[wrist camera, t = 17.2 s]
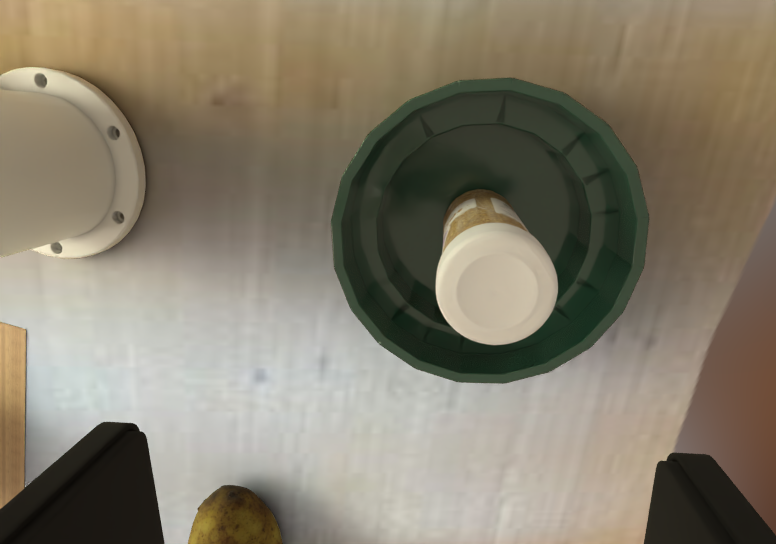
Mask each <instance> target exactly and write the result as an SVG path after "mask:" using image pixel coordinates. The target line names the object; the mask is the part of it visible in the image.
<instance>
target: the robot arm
mask: <svg viewBox="0 0 776 544" xmlns="http://www.w3.org/2000/svg"><path fill="white" fill-rule="evenodd" d="M119 132H120V133H119ZM145 188H146V180H145V166H144V161H143V157H142V152H141V149H140V146H139V144H138V141H137V138H136V136H135V133H134V131H133V130H132V128H131V126H130V124H129V123H128V121H127V119H126V118H125V116H124V115H123V113H122V112H121V111H120V110H119V108H118V107H117V106H116V105H115V104H114V102H113V101H112V100H111V99H110V98H109V97H107V96H106V95H105V94H104V93H103V92H102V91H101V90H99V89H98V88H97V87H96V86H94V85H92V84H91V83H89V82H87V81H86V80H84V79H82V78H81V77H78V76H75V75H73V74H70V73H67V72H65V71H60V70H54V69H49V68H38V67H26V68H20V69H15V70H11V71H9V72H6V73H4V74H2V75H0V258H2V257H5V256H9V255H12V254H16V253H19V252H23V251H27V250H30V249H31V250H33V251H36V252H38V253H41V254H44V255H46V256H51V257H56V258H61V259H79V258H83V257H87V256H92V255H95V254H97V253H100V252H103V251H105V250H108V249H109V248H111V247H112V246H114V245H116V244H117V243H119V242H120V241H121V240H122V239H123V238H124V237H125V236H126V235H127V234H128V233H129V232H130V230H131V229H132V227H133V226H134V224H135V222H136V221H137V219H138V217H139V214H140V211H141V208H142V206H143V202H144V195H145ZM0 544H164V538H163V532H162V526H161V520H160V514H159V508H158V502H157V496H156V490H155V484H154V478H153V473H152V467H151V461H150V455H149V449H148V443H147V438H146V435H145V434H144V433H143V432H140V431H139V428H138V427H137V425H135V424H133V423H119V422H103V423H101V424H99V425H97V426H96V427H95V428H94V429H93V430H92V431H90V432H89V433H88V434H87V435H86V436H85V437H84V438H82V439H81V440H80V441H79V442H78V443H77V444H75V445H74V446H73V447H72V448H71V449H70V450H68V451H67V452H66V453H65V454H64V455H63V456H61V457H60V458H59V459H58V460H57V461H56V462H54V463H53V464H52V465H51V466H50V467H49V468H47V469H46V470H45V471H44V472H43V473H42V474H41V475H39V476H38V477H37V478H36V479H35V480H34V481H32V482H31V483H30V484H29V485H28V486H27V487H25V488H24V489H23V490H22V491H21V492H20V493H18V494H17V495H16V496H15V497H14V498H13V499H11V500H10V501H9V502H8V503H7V504H6V505H4V506H3V507H2V508H1V509H0ZM644 544H776V535H775V534H774V533H773V532H772V530H771V529H770V528H769V527H768V525H767V524H766V523H765V522H764V520H763V519H762V518H761V517H760V516H759V514H758V513H757V512H756V511H755V509H754V508H753V507H752V506H751V504H750V503H749V502H748V501H747V499H746V498H745V497H744V496H743V494H742V493H741V492H740V491H739V490H738V488H737V487H736V486H735V485H734V484H733V482H732V481H731V480H730V478H729V477H728V476H727V475H726V473H725V472H724V471H723V470H722V469H721V467H720V466H719V465H718V464H717V462H716V461H715V460H714V459H713V458H712V457H711V456H709V455H706V454H687V453H671V454H670V455H669V456H668V458H667V461H660V462H658V464H657V467H656V472H655V478H654V485H653V491H652V497H651V503H650V509H649V516H648V522H647V528H646V534H645V540H644Z"/></svg>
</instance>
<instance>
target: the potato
mask: <svg viewBox="0 0 776 544" xmlns="http://www.w3.org/2000/svg"><path fill="white" fill-rule="evenodd" d="M188 544H283V543H282V538H281V533H280V530H279V527H278V524H277V522H276V519H275V517H274V516H273V514H272V512H271V511H270V509H269V508H268V507H267V506H266V505H265V504H264V503H263V502H262V500H261V499H260V498H259V497H258V496H257V495H256V494H255V493H254V492H252V491H251V490H249V489H247V488H243V487H240V486H234V485H225V486H222V487H221V488H219V489H217V490H216V491H215V492H213V493H212V494H211V495H210V496H209V497H208V498H207V499H205V500H204V502H203V503H202V504H201V505H200V507H199V508H198V513H197V515H196V517H195V520H194V522H193V526H192V530H191V533H190V537H189V541H188Z"/></svg>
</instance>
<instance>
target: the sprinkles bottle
mask: <svg viewBox="0 0 776 544" xmlns="http://www.w3.org/2000/svg"><path fill="white" fill-rule="evenodd" d="M443 231H444V234H443V250H442V256H441V258H440V261H439V264H438V268H437V274H436V297H437V302H438V305H439V308H440V310H441V312H442V314H443V316H444V318H445V319H446V321H447V322H448V323H449V324H450V326H451V327H452V328H453V329H455V330H456V331H457V332H458V333H460V334H461V335H463V336H464V337H466V338H468V339H470V340H472V341H475V342H478V343H483V344H489V345H503V344H509V343H513V342H517V341H520V340H522V339H524V338H526V337H528V336H530V335H531V334H533V333H534V332H536V331H537V330H538V329H539V328H540V327H541V326H542V325H543V324H544V323H545V321H546V320H547V319H548V317H549V316H550V314H551V313H552V311H553V308H554V306H555V303H556V299H557V294H558V280H557V274H556V270H555V268H554V265H553V263H552V261H551V259H550V257H549V255H548V254H547V252H546V251H545V249H544V248H543V246H542V245H541V244H540V243H539V241H538V240H537V239H536V238H535V237H534V236H532V235H531V234H530V233H529V232H528V230H527V229H526V227H525V226H524V224H523V223H522V221H521V220H520V219H519V217H518V216H517V214H516V213H515V212H514V210H513V208H512V206H511V205H510V203H509V202H508V201H507V200H506V199H505V198H504V197H503V196H501V195H499V194H497V193H495V192H493V191H490V190H484V189H476V190H471V191H468V192H466V193H464V194H462V195H460V196H459V197H457V198H456V199H455V200H454V201H453V202H452V203H451V205H450V206H449V208H448V209H447V212H446V214H445V217H444V220H443Z"/></svg>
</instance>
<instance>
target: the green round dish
mask: <svg viewBox="0 0 776 544" xmlns="http://www.w3.org/2000/svg"><path fill="white" fill-rule="evenodd" d="M476 189H484V190H490V191H493V192H495V193H497V194H499V195H501V196H503V197H504V198H505V199H506V200H507V201H508V202H509V203H510V205H511V206H512V208H513V210H514V212H515V213H516V214H517V216H518V217H519V219H520V220H521V221H522V223H523V224H524V226H525V227H526V229H527V230H528V232H529V233H530V234H531V235H532V236H534V237H535V238H536V239H537V240H538V241H539V243H540V244H541V245H542V246H543V248H544V249H545V251H546V252H547V254H548V255H549V257H550V259H551V261H552V263H553V265H554V268H555V270H556V274H557V280H558V294H557V299H556V303H555V306H554V308H553V311H552V313H551V314H550V316H549V317H548V319H547V320H546V321H545V323H544V324H543V325H542V326H541V327H540V328H539V329H538V330H537V331H536V332H534V333H533V334H531V335H530V336H528V337H526V338H524V339H522V340H520V341H517V342H513V343H509V344H503V345H489V344H483V343H478V342H475V341H472V340H470V339H468V338H466V337H464V336H463V335H461V334H460V333H458V332H457V331H456V330H455V329H453V328H452V327H451V326H450V324H449V323H448V322H447V321H446V319H445V318H444V316H443V314H442V312H441V310H440V308H439V305H438V302H437V297H436V274H437V268H438V264H439V261H440V258H441V256H442V250H443V234H444V231H443V220H444V217H445V214H446V212H447V209H448V208H449V206H450V205H451V203H452V202H453V201H454V200H455V199H456V198H457V197H459V196H460V195H462V194H464V193H466V192H468V191H471V190H476ZM648 225H649V213H648V209H647V205H646V201H645V197H644V193H643V189H642V185H641V181H640V176H639V172H638V169H637V166H636V164H635V163H634V161H633V160H632V158H631V157H630V156H629V154H628V153H627V151H626V150H625V148H624V147H623V145H622V144H621V142H620V141H619V139H618V138H617V136H616V135H615V133H614V132H613V130H612V129H611V127H610V126H609V125H608V124H607V123H606V122H605V121H603V120H602V119H601V118H599V117H598V116H596V115H595V114H594V113H592V112H591V111H590V110H588V109H587V108H585V107H584V106H583V105H581V104H580V103H578V102H577V101H576V100H574V99H573V98H572V97H570V96H569V95H567V94H566V93H564V92H561V91H558V90H554V89H551V88H547V87H544V86H540V85H537V84H533V83H530V82H526V81H523V80H519V79H516V78H494V79H475V80H460V81H459V82H458V81H456V82H453V83H450V84H448V85H445V86H443V87H440V88H438V89H435V90H433V91H430V92H428V93H425V94H423V95H420V96H418V97H415V98H413V99H410V100H409V101H407V102H406V103H404V104H403V105H402V106H401V107H400V108H398V109H397V110H396V111H395V112H394V113H392V114H391V115H390V116H389V117H388V118H386V119H385V120H384V121H383V122H382V123H380V124H379V125H378V126H377V127H376V128H374V129H373V130H372V131H371V132H370V133H369V134H368V135H367V137H366V138H365V140H364V142H363V143H362V145H361V146H360V148H359V149H358V151H357V153H356V154H355V156H354V157H353V159H352V161H351V162H350V164H349V165H348V167H347V169H346V170H345V172H344V173H343V176H342V179H341V183H340V187H339V191H338V195H337V199H336V203H335V207H334V211H333V215H332V219H331V232H332V247H333V261H334V267H335V268H334V269H335V271H336V274H337V276H338V279H339V281H340V284H341V286H342V289H343V291H344V294H345V296H346V299H347V301H348V304H349V306H350V308H351V310H352V312H353V313H354V314H355V315H356V317H357V318H358V319H359V320H360V321H361V323H362V324H363V325H364V326H365V328H366V329H367V330H368V331H369V333H370V334H371V335H372V336H373V337H374V339H375V340H376V341H377V342H378V343H379V344H380V345H381V346H383V347H384V348H386V349H387V350H388V351H390V352H391V353H393V354H394V355H396V356H397V357H399V358H400V359H402V360H403V361H405V362H406V363H408V364H409V365H411V366H412V367H414V368H416V369H418V370H421V371H424V372H427V373H431V374H434V375H437V376H440V377H443V378H446V379H449V380H453V381H456V382H467V383H502V384H503V383H509V382H513V381H517V380H521V379H524V378H528V377H532V376H536V375H540V374H544V373H548V372H549V371H552V370H554V369H555V368H557V367H559V366H561V365H562V364H564V363H566V362H567V361H569V360H571V359H572V358H574V357H576V356H577V355H579V354H581V353H582V352H584V351H586V350H588V349H589V348H590V347H592V346H593V345H594V344H595V343H596V341H597V340H598V339H599V338H600V337H601V336H602V335H603V334H604V333H605V332H606V331H607V329H608V328H609V327H610V326H611V325H612V324H613V323H614V322H615V321H616V320H617V319H618V317H619V316H620V315H621V314H622V313H623V311H624V310H625V308H626V305H627V303H628V301H629V299H630V297H631V295H632V292H633V290H634V288H635V286H636V284H637V282H638V279H639V277H640V275H641V273H642V271H643V269H644V264H645V254H646V245H647V235H648Z"/></svg>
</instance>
